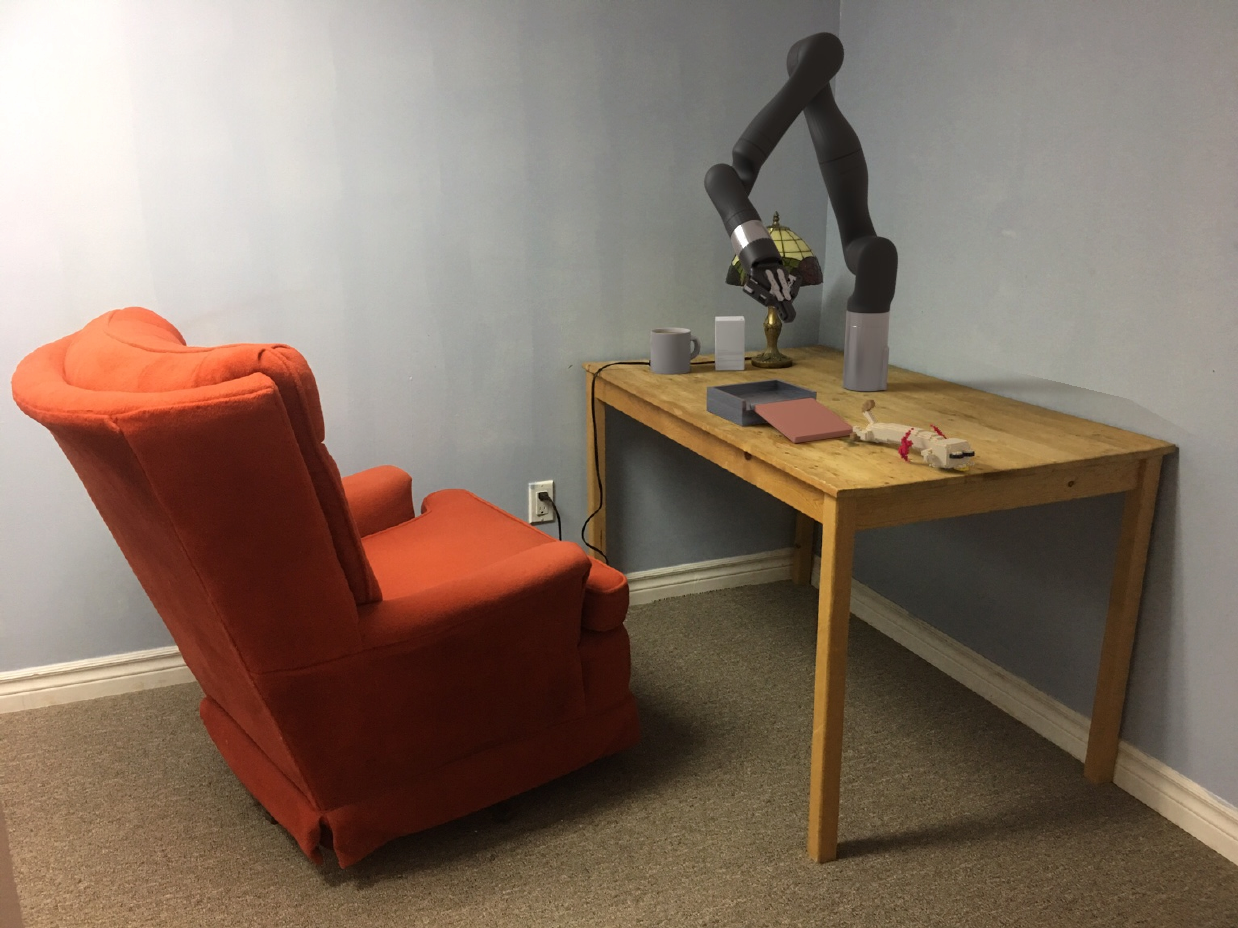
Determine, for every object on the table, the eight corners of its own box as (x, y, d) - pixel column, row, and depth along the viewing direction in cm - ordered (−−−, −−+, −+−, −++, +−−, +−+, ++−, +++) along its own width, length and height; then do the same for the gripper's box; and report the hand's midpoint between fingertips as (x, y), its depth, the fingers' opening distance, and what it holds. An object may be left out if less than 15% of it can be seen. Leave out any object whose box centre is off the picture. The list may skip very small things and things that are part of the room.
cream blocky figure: (840, 449, 165) (946, 475, 143) (840, 401, 163) (947, 420, 141) (883, 442, 169) (992, 466, 147) (884, 395, 167) (994, 412, 145)
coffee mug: (658, 375, 223) (658, 334, 220) (645, 368, 232) (645, 329, 230) (709, 371, 227) (709, 331, 224) (694, 364, 236) (695, 325, 233)
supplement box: (743, 365, 234) (744, 315, 231) (744, 371, 227) (745, 320, 224) (714, 365, 235) (715, 315, 231) (714, 371, 228) (715, 320, 224)
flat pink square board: (750, 402, 175) (793, 437, 163) (811, 395, 180) (857, 428, 168) (748, 411, 176) (791, 447, 164) (809, 404, 181) (855, 437, 169)
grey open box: (706, 410, 189) (706, 386, 187) (776, 402, 195) (777, 378, 193) (741, 426, 176) (742, 400, 175) (815, 416, 183) (816, 391, 181)
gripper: (733, 238, 173) (768, 310, 166) (792, 234, 178) (828, 304, 171) (719, 265, 179) (752, 336, 172) (776, 260, 185) (811, 329, 177)
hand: (790, 320), depth 172 cm, fingers closed
